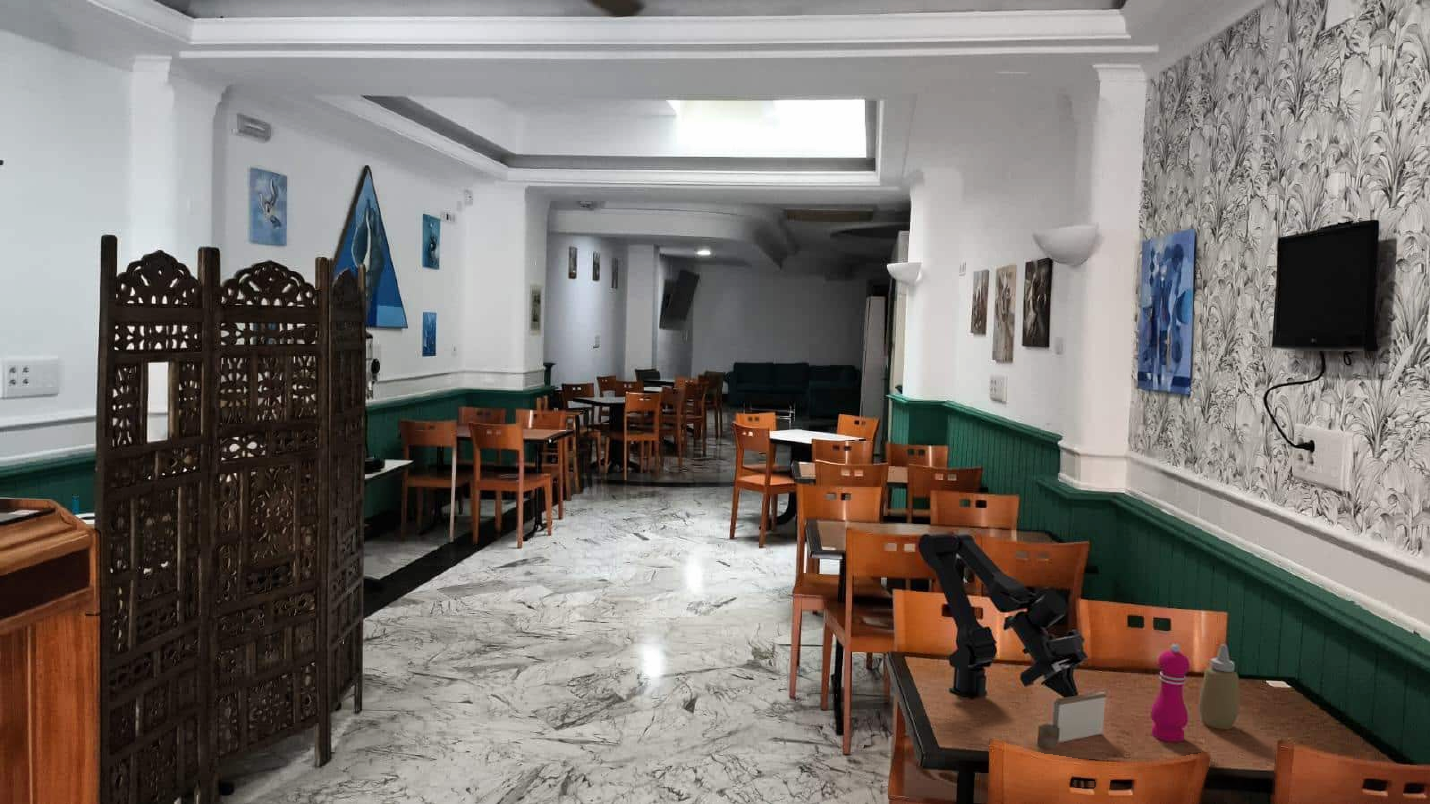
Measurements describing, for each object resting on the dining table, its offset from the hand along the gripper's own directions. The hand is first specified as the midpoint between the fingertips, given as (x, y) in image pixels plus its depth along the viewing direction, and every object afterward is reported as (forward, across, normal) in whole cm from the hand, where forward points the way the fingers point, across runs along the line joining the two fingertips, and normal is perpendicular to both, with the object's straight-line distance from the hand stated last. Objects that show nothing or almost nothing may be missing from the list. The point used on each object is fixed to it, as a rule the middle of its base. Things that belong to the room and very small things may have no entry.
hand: (1078, 703), depth 206 cm
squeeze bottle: (+16, +33, -6) cm, 37 cm away
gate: (+5, 0, +4) cm, 7 cm away
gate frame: (+4, -1, +6) cm, 7 cm away
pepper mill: (+14, +17, -3) cm, 22 cm away
